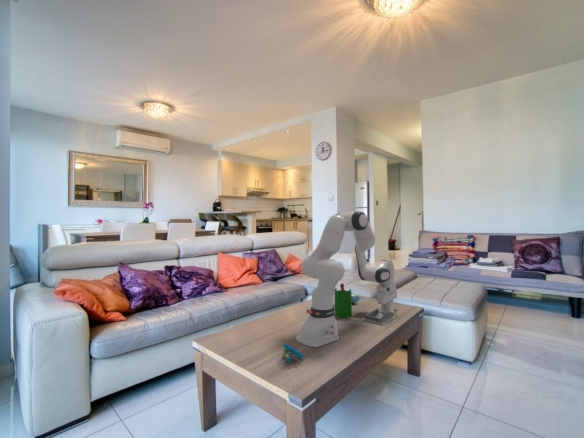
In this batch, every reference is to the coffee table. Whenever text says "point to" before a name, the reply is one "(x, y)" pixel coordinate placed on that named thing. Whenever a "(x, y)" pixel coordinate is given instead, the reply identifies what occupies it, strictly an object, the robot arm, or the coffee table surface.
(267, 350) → the coffee table surface
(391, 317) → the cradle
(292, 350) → the blue green branched frame
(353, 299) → the owl figurine
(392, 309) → the cream rectangular block
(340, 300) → the motor
